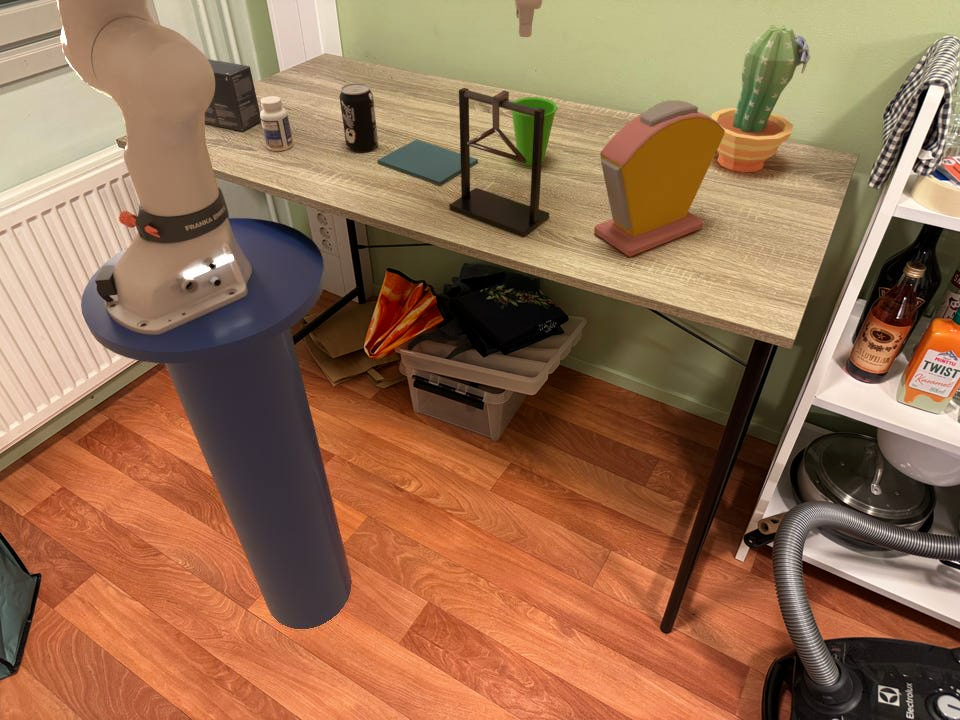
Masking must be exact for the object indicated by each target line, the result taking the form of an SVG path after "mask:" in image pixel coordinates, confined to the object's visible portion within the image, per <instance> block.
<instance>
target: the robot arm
mask: <svg viewBox="0 0 960 720" xmlns="http://www.w3.org/2000/svg"><path fill="white" fill-rule="evenodd" d="M513 1H514V6H515V16H516V18H517V19H518V35H519V37H521V38H530V37H531V36H532V33H533V21H534V15H535V10H539V9H540V8H541V7H542V4H543V1H544V0H513ZM56 2H57V8H58V13H59V17H60V22H61V26H62V29H61V34H60V46H61V50H62V54H63V56H64V58H65V60H66V61H67V63H68V65H69V66H70V67H71V69H72V70H73V71H74V72H75V73H76V75H78V77H79V78H80V79H81V80H82V81H83V82H84V83H85V84H86V85H87V86H89V87H90V88H92V89H94V90H95V91H97V92H99V93H101V94H102V95H104V96H107V97H109V98H111V99H112V100H113V101H114V103H116V105H117V106H118V108H119V110H120V112H121V114H122V118H123V121H124V128H125V135H126V145H125V148H124V149H123V161H124V164H125V166H126V168H127V171H128V174H129V176H130V180H131V182H132V185H133V187H134V190H135V193H136V195H137V198H138V200H139V205H138V213H137V215H136V214H133V213H132V212H130V211H128V210H123V211H122V212H120V213H119V216H118V221H119V222H120V224H122V225H124V226H126V227H128V228H130V229H132V228H136V230H137V234H135V236H134V238H133V239H132V241H131V242H130V244H129V245H128V246H127V247H128V248H127V247H126V248H127V250H126V251H125V253H124V254H123V255H122V257H121V258H120V260H119V261H118V262H117V264H116V265H105V266H102V268H101V270H100V272H99V274H98V276H97V278H96V280H95V282H96V284H97V287H96V289H97V292H98V294H99V295H100V296H101V297H102V298H103V299H104V300H105V307H106V310H107V312H108V314H109V315H110V317H111V318H112V319H114V320H115V321H116V322H117V323H119V324H120V325H122V326H124V327H125V328H127V329H129V330H131V331H134V332H137V333H141V334H147V335H159V334H162V333H164V332H167V331H169V330H171V329H173V328H176V327H178V326H180V325H182V324H185V323H187V322H189V321H192V320H194V319H196V318H198V317H201V316H203V315H205V314H207V313H210V312H212V311H214V310H216V309H219V308H221V307H223V306H225V305H228V304H230V303H232V302H234V301H237V300H239V299H241V298H243V297H245V296H246V295H247V293H248V288H247V282H248V280H249V278H250V276H251V274H252V267H251V264H250V262H249V261H248V260H247V258H246V257H245V255H244V253H243V252H242V250H241V248H240V246H239V244H238V242H237V240H236V238H235V236H234V233H233V231H232V228H231V226H230V223H229V221H228V220H229V218H230V216H229V209H228V206H227V203H226V200H225V196H224V194H223V190H222V189H221V188H220V187H219V186H218V183H217V179H216V175H215V172H214V167H213V164H212V161H211V156H210V153H209V150H208V144H207V138H206V124H205V111H206V110H207V108H208V107H209V105H210V104H211V102H212V99H213V96H214V92H215V76H214V72H213V69H212V66H211V64H210V62H209V61H208V59H209V58H207V56H206V55H205V54H204V53H203V52H202V51H201V50H200V49H199V48H198V47H197V46H195V44H194V43H192V42H191V41H190V40H189V39H188V38H186V37H185V36H184V35H182V34H181V33H179V32H178V31H176V30H174V29H172V28H169V27H166V26H163V25H161V24H158V23H155V21H154V20H153V18H152V16H151V13H150V11H149V5H148V1H147V0H56Z"/></svg>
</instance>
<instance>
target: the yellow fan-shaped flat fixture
mask: <svg viewBox="0 0 960 720" xmlns="http://www.w3.org/2000/svg"><path fill="white" fill-rule="evenodd" d="M724 132H725V130H724V129H723V128H722V127H721V125H720V124H719V123H718V122H717V121H715V120H714V119H712V118H711V116H708V115H706V114H704V113H702V112H700V111H699V106H697V105H694V104H692V103H690V102H688V101H683V100H679V99H678V100H665V101H661V102H659V103H656V104H654V105H653V106H651V107H649V108H648V109H647V110H645V111H644V112H641V114H639V115H638V116H636V117H634V118H632V119H631V120H630V121H629V122H627V123H626V124H625V125H624V126H623V127H621V129H619V131H617V133H615V135H613V136H612V138H611V139H610V140H608V142H607V143H606V144H605V146H604V147H603V149H601V150H600V154H599V155H600V164H601V169H602V174H603V178H604V183H605V188H606V193H607V198H608V203H609V207H610V212H611V216H612V218H611V219H608V220H606V221H603V222H600V223H597V224H596V225H594V230H593V233H594V234H595V235H597V236H598V237H599V238H601V239H603V240H604V241H605V242H607V243H608V244H610V245H611V246H613V247H614V248H616V249H617V250H619V251H620V252H621V253H623V254H624V255H626V256H627V257H629V258H630V257H633V256H636V255H638V254H641V253H643V252H646V251H648V250H650V249H653V248H655V247H658V246H661V245H663V244H666V243H668V242H671V241H673V240H677V239H678V238H682V237H683V236H686V235H688V234H691V233H693V232H696V231H698V230H701V229H703V225H704V221H703V220H702V219H701V218H700V217H698V216H696V215H694V214H692V212H691V213H690V212H689V211H690V209H691V207H692V204H693V202H694V200H695V198H696V196H697V194H698V191H699V189H700V188H701V186H702V183H703V181H704V179H705V176H706V174H707V172H708V170H709V169H710V166H711V164H712V162H713V160H714V157H715V155H716V154H717V152H718V151H717V149H718V147H719V145H720V143H721V141H722V138H723V136H724V134H725V133H724Z"/></svg>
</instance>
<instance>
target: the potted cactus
mask: <svg viewBox="0 0 960 720" xmlns="http://www.w3.org/2000/svg"><path fill="white" fill-rule="evenodd" d="M810 53H811V52H810V49H809V45H808V43H807V40H806V39H805V37H804V36H802V35H797V34H796V33H795V32H794V29H793V28H789V29H787V27H786V25H784V24H782V25H780V26H779V27H777V26H775V24H771V25H769V27H767V28H766V29H765V30H764V31H762V33H760V35H758V37H757V38H756V39H754V41H753V42H752V43H751V45H750V46H749V47H748V49H747V50H746V51H745V55H744V60H743V65H742V66H743V67H742V71H741V91H740V96H739V99H738V102H737V105H736V107H725V108H722V109H720V110H717V111H715V112H713V113H711V116H710V118H712V119H714V120H715V121H717V122H718V123H719V124H720V125H721V127H722V128H723V129H724V130H725V132H724V133H725V134H724V136H723V138H722V141H721V143H720V145H719V147H718V149H717V151H716V152H717V153H718V156H717V160H716V162H718V163H719V165H720V166H721V167H723V168H726V169H728V170H730V171H735V172H739V173H752V172H757V171H760V170H762V169H764V164H765V162H766V161H767V160H768V159H770V158H772V156H773V155H774V154H776V152H777V150H778V149H779V148H780V147H781V145H782V144H783V143H784V142H787V141H789V138H790V137H791V134H792V133H793V126H794V125H793V123H792V122H790V121H789V120H788V119H787V118H786V117H784V116H783V115H780V114H777V113H774V112H773V111H774V108H775V106H776V104H777V102H778V100H779V98H780V96H781V95H782V92H783V91H784V90H785V88H786V87H787V86H788V84H789V83H790V82H791V81H792V79H793V77H794V74H795V72H796V69H797V67H799V66H800V65H803V66H802V69H801V72H800V74H804V72H805V70H806V67H807V65H808V63H809V61H810V59H811V54H810Z"/></svg>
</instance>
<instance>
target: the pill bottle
mask: <svg viewBox="0 0 960 720" xmlns="http://www.w3.org/2000/svg"><path fill="white" fill-rule="evenodd" d="M260 106H261V108H262V109H261V111H260V118H261V121H260V122H261V126H262V130H263V134H264V139H265V144H266V147H267V149H269V150H270V151H273V152H283V151H287V150H289V149H291V148H292V147H293V146H294V141H293V136H292V130H291V125H290V120H289V116H288V111H287V109H286V108H284V107H283V102H282V99H281V97H280V96H276V95H269V96H268V95H267V96H264V97H263V98H261V99H260Z"/></svg>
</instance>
